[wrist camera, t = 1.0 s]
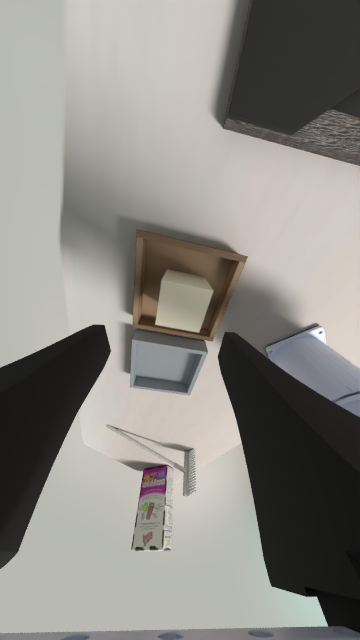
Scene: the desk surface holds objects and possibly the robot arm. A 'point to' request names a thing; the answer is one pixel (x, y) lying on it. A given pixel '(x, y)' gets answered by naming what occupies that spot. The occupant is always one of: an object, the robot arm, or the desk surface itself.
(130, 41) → the desk surface
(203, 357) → the grey tray
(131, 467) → the desk surface
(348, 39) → the picture frame
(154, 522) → the candy bar box
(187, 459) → the brush
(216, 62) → the desk surface
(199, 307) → the sandstone block
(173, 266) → the walnut tray
